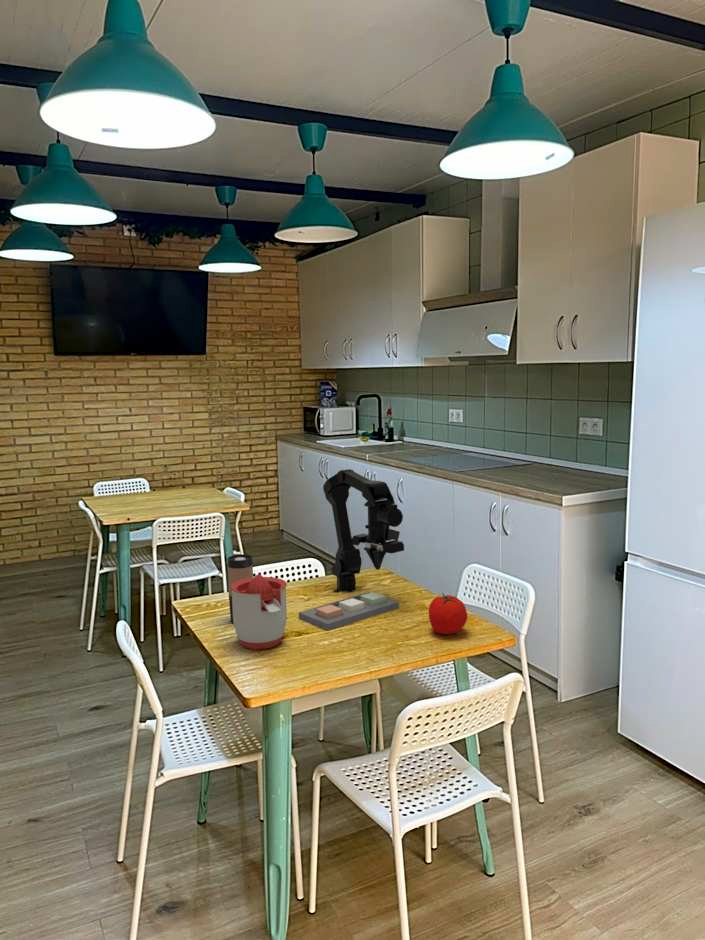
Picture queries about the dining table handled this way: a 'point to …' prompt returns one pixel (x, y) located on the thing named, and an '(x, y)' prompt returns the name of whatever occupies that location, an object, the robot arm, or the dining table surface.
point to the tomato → (447, 614)
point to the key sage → (373, 598)
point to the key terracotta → (329, 612)
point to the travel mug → (238, 573)
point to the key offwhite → (351, 605)
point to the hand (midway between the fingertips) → (377, 569)
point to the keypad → (347, 613)
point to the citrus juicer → (259, 611)
